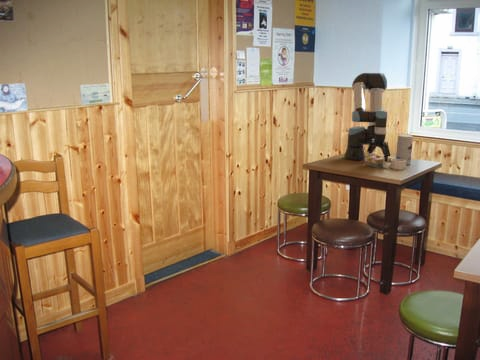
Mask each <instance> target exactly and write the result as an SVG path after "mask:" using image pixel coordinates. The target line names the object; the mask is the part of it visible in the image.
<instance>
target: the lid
mask: <svg viewBox="0 0 480 360" xmlns="http://www.w3.org/2000/svg"><path fill="white" fill-rule="evenodd" d="M383 157H384V155H379V154H377V155H374V154H373V156H369V155H368V156H367V155H365V159H364V161H365V162H368V163H369V162H371V163H375V164H383ZM391 159H392V158H391V157H388V160H387V164H390V163H391ZM371 163H370V164H371Z"/></svg>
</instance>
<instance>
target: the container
mask: <svg viewBox="0 0 480 360" xmlns="http://www.w3.org/2000/svg"><path fill="white" fill-rule="evenodd" d="M413 139H414V136H413V135H411V134H398V135H397V142H396V143H397V144H396V153H395V154H396V155H395V159H403V160H406V166H408V165H410V164H411V163H412V162H411V161H412V150H413V141H414V140H413Z"/></svg>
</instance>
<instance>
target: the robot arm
mask: <svg viewBox="0 0 480 360" xmlns="http://www.w3.org/2000/svg"><path fill="white" fill-rule="evenodd" d="M351 88H352V89H351V90H352V91H353V99H354V100H353V103H354V107H353V108H354V110H353V111H352V113H351V121H352V122H353V123H369V125H367V128H366V127H365V126H353V127H349V129H348V130H347V131H348V132H347V146H346V149H345V152H344V156H343V158H344V159H346V160H350V161H365V157H366V155H365V150H364V149H365V148H364V146H365V145H366V146H368V148H367V149H366V152H367V153H368V156H374V153H373V152H374V151H375V150H376V148H379V149H380V150H381V152H382V154H383V156H384V157H383V166H384V167H387V165H388V163H387V160H388V158H389V157H391V152H390V149H389V142H388V141H386V136H387V135H386V134H387V124H388V123H387V122H388V110H384V109H383V93H385V90H386V89H387V88H388V80H387V75H386V74H385V73H383V72H382V73H381V72H363V73H360V74H358V75H357V76H356V77H355V78H354V80H353V81H352V84H351ZM365 90H367V91H368V93H369V95H370V98H369V111H366V94H365ZM368 163H369V164H371V162H368Z"/></svg>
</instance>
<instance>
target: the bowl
mask: <svg viewBox="0 0 480 360" xmlns="http://www.w3.org/2000/svg"><path fill="white" fill-rule="evenodd" d="M389 164H390V166H389V167H390V169H393V170H396V169H397V171H399V170H402V171H403V170H406V166H407V165H406V160H403V159H396V158H391V162H390V163H389Z"/></svg>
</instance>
